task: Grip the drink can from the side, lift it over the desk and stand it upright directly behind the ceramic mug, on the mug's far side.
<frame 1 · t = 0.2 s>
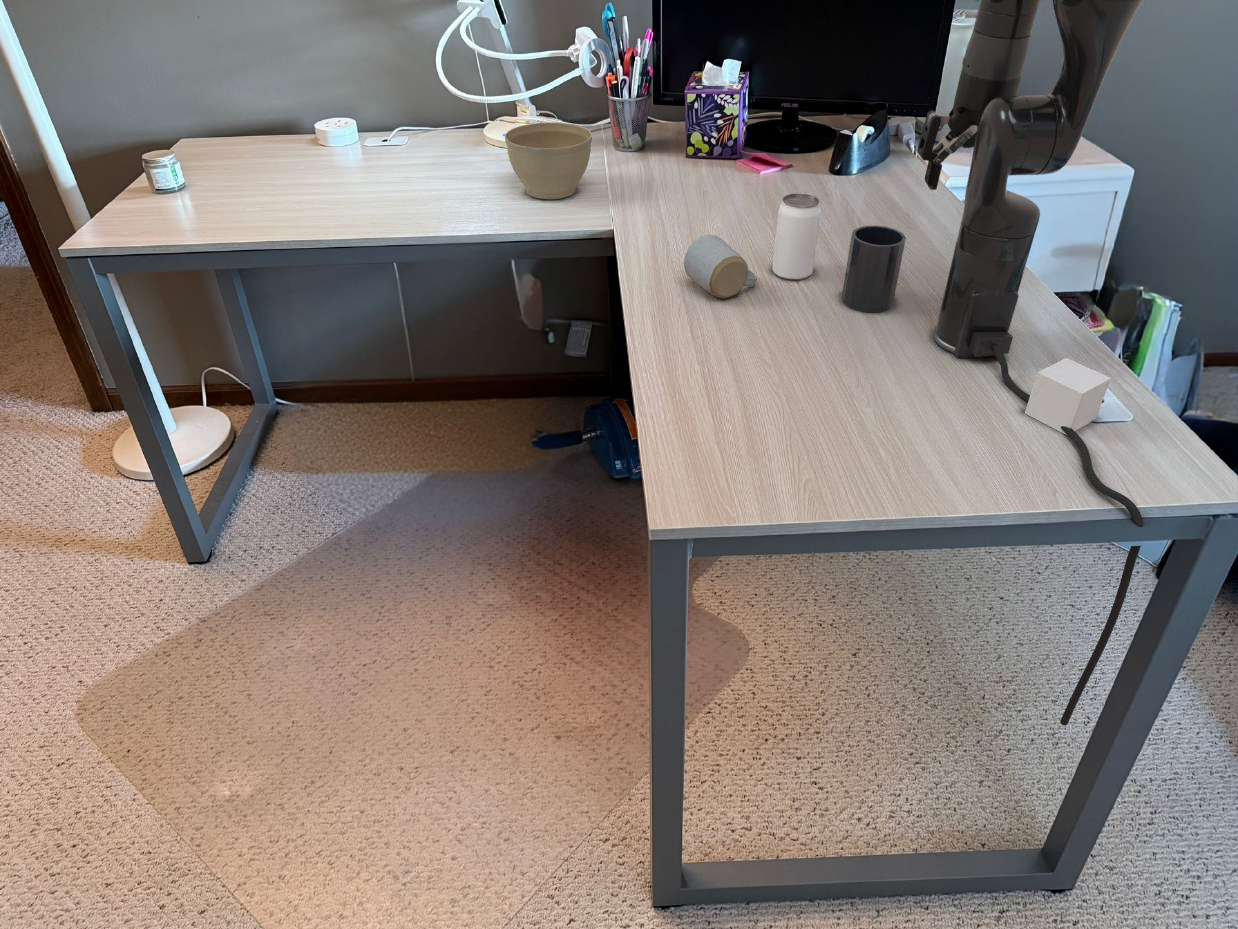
hand: (961, 187, 129), 17 cm above the table, tool pointing down, fingers open, 8 cm apart
ceramic mug: (721, 288, 142), on the table
can: (791, 273, 147), on the table
pen cup: (867, 301, 139), on the table
planter bowl: (551, 192, 175), on the table
white cube: (1059, 417, 114), on the table
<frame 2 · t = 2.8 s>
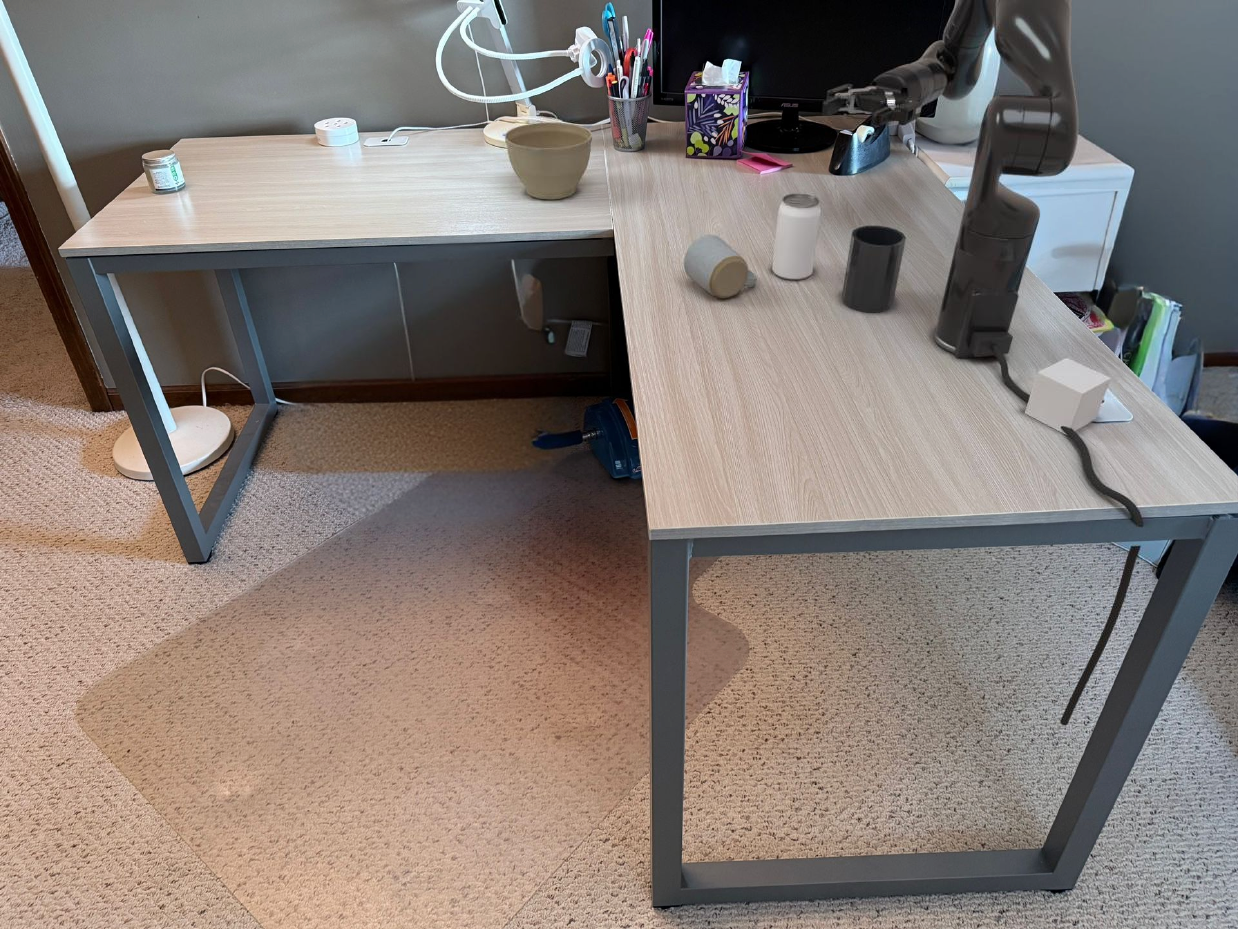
hand: (849, 114, 140), 22 cm above the table, tool horizontal, fingers open, 8 cm apart
nothing on the table moved.
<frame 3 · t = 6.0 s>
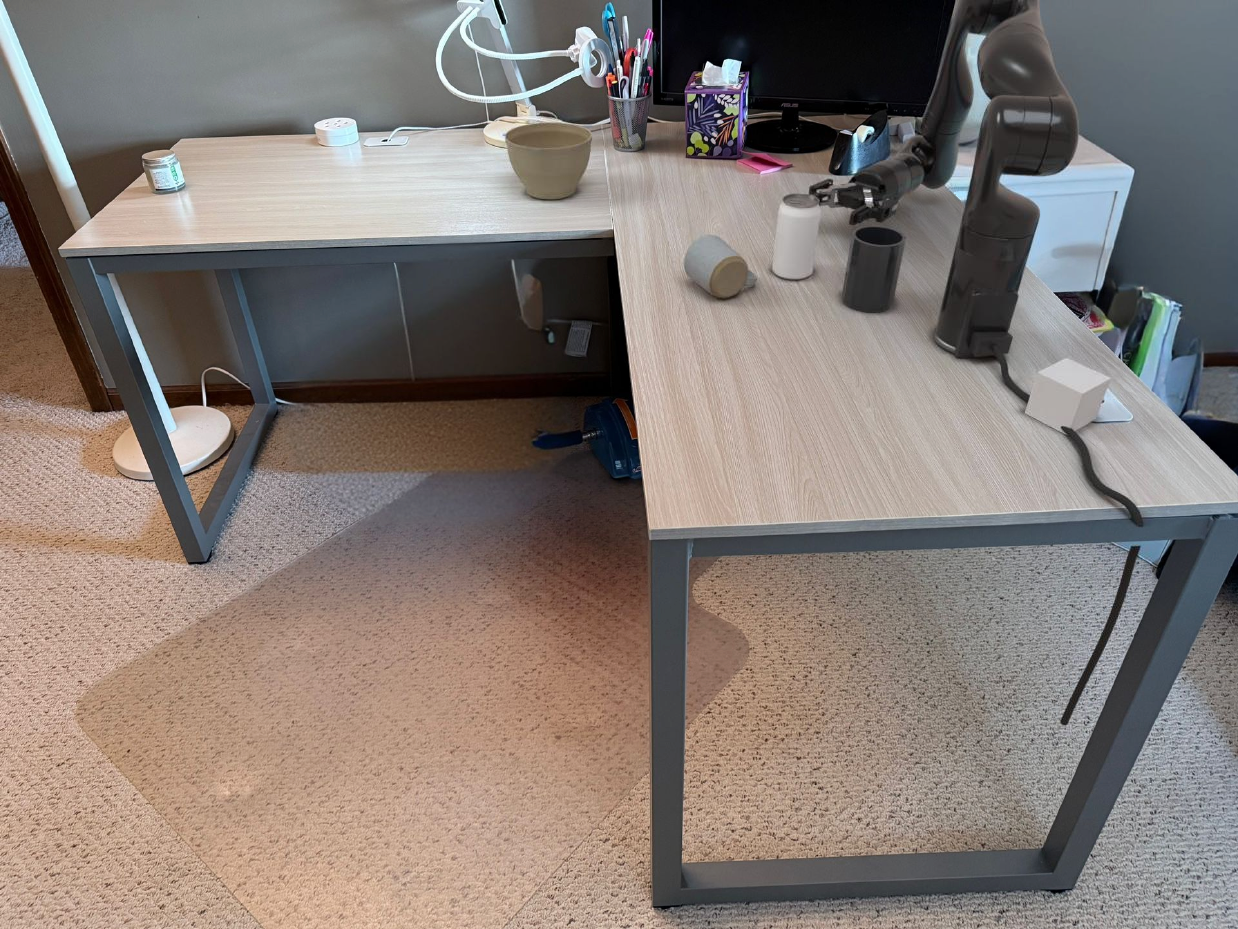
hand: (828, 212, 148), 7 cm above the table, tool horizontal, fingers open, 8 cm apart
nothing on the table moved.
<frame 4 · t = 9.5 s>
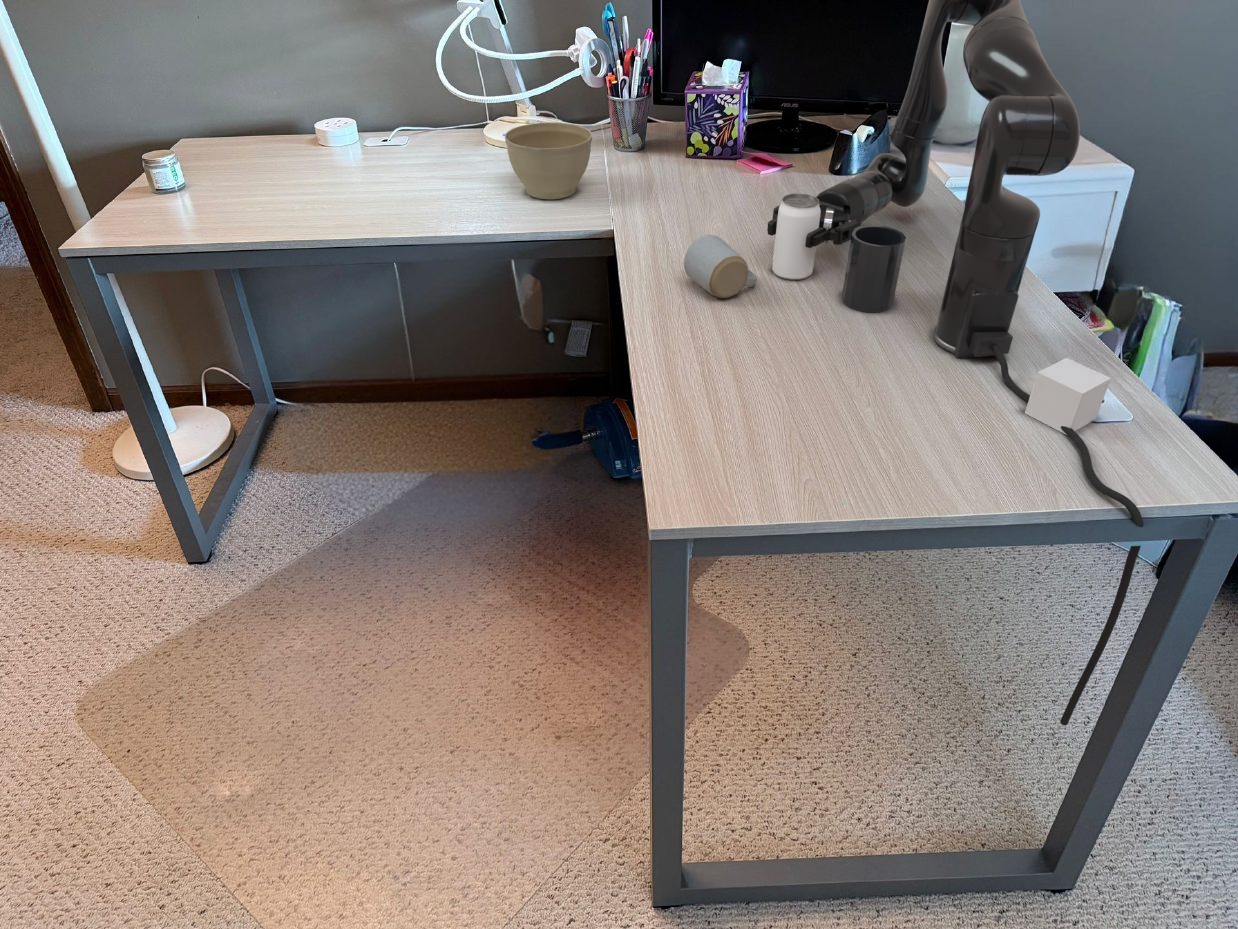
hand: (788, 235, 141), 7 cm above the table, tool horizontal, fingers closed on can, 6 cm apart
can: (791, 273, 147), on the table, touching gripper
everything else where it was.
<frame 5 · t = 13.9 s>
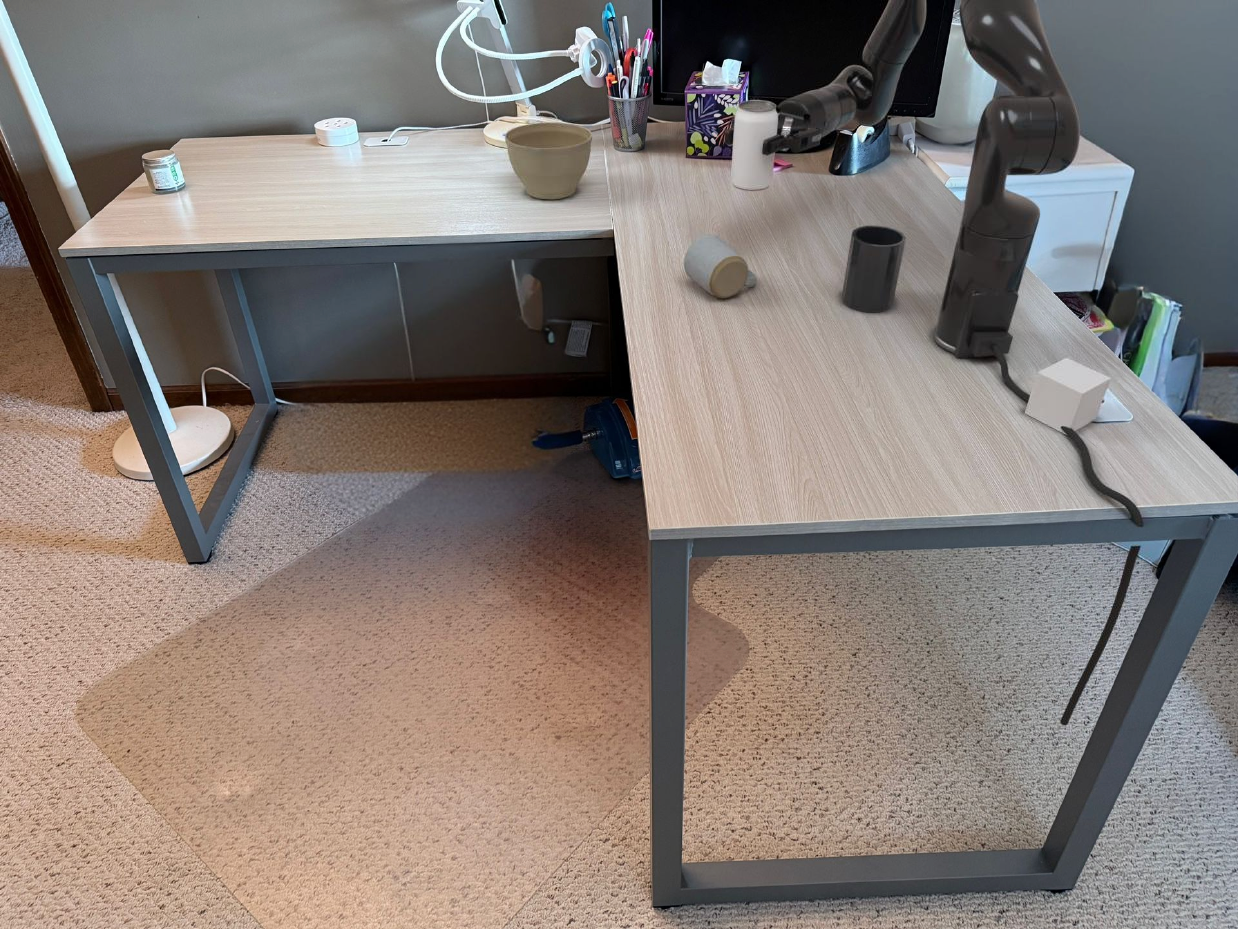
hand: (745, 143, 137), 20 cm above the table, tool horizontal, fingers closed on can, 6 cm apart
can: (751, 185, 143), point 13 cm above the table, touching gripper
everything else where it was.
when the fingers open (7 cm above the table, at t = 18.8 s): can stays where it is, on the table.
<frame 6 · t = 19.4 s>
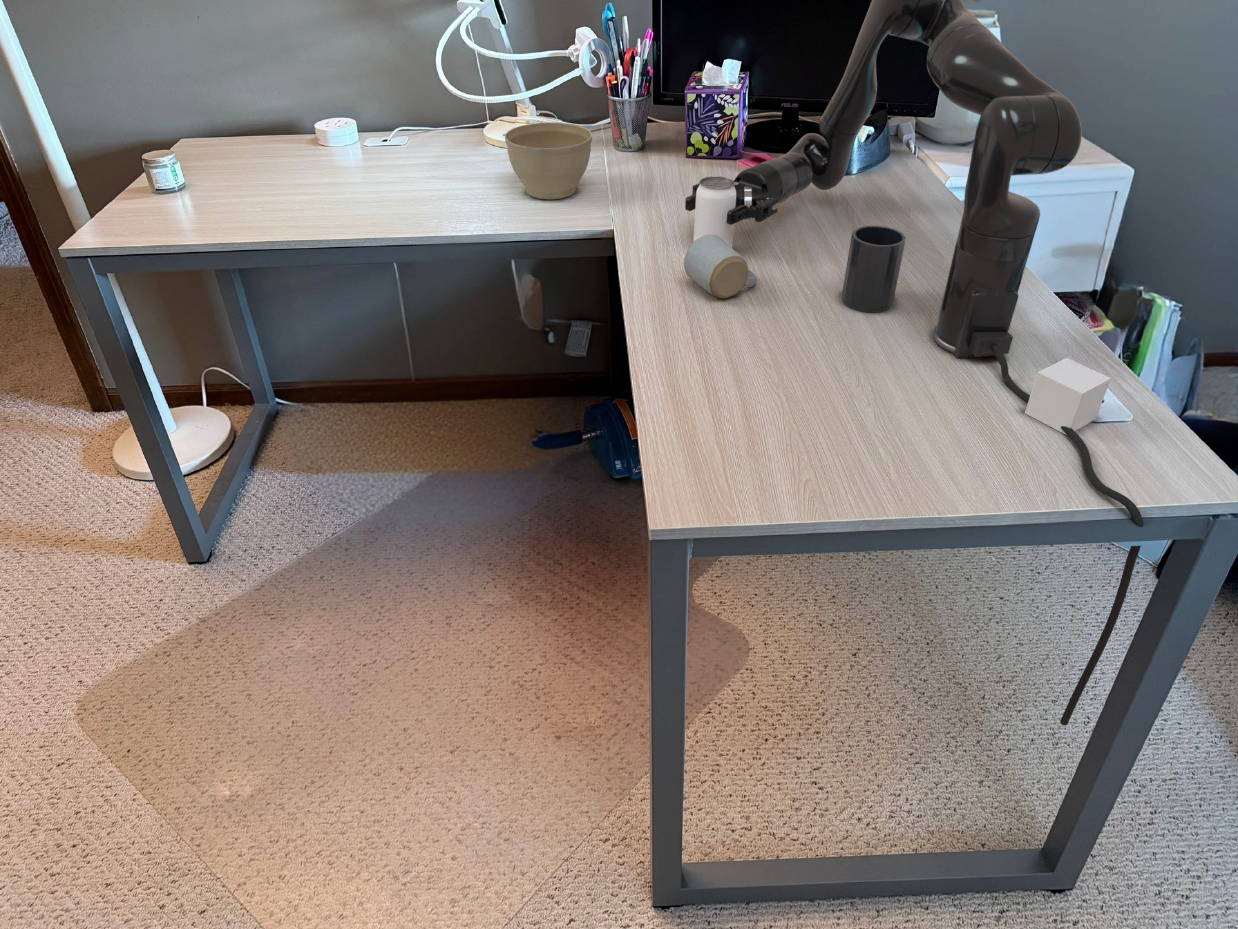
hand: (707, 211, 147), 8 cm above the table, tool horizontal, fingers open, 8 cm apart
can: (712, 253, 153), on the table
everything else where it was.
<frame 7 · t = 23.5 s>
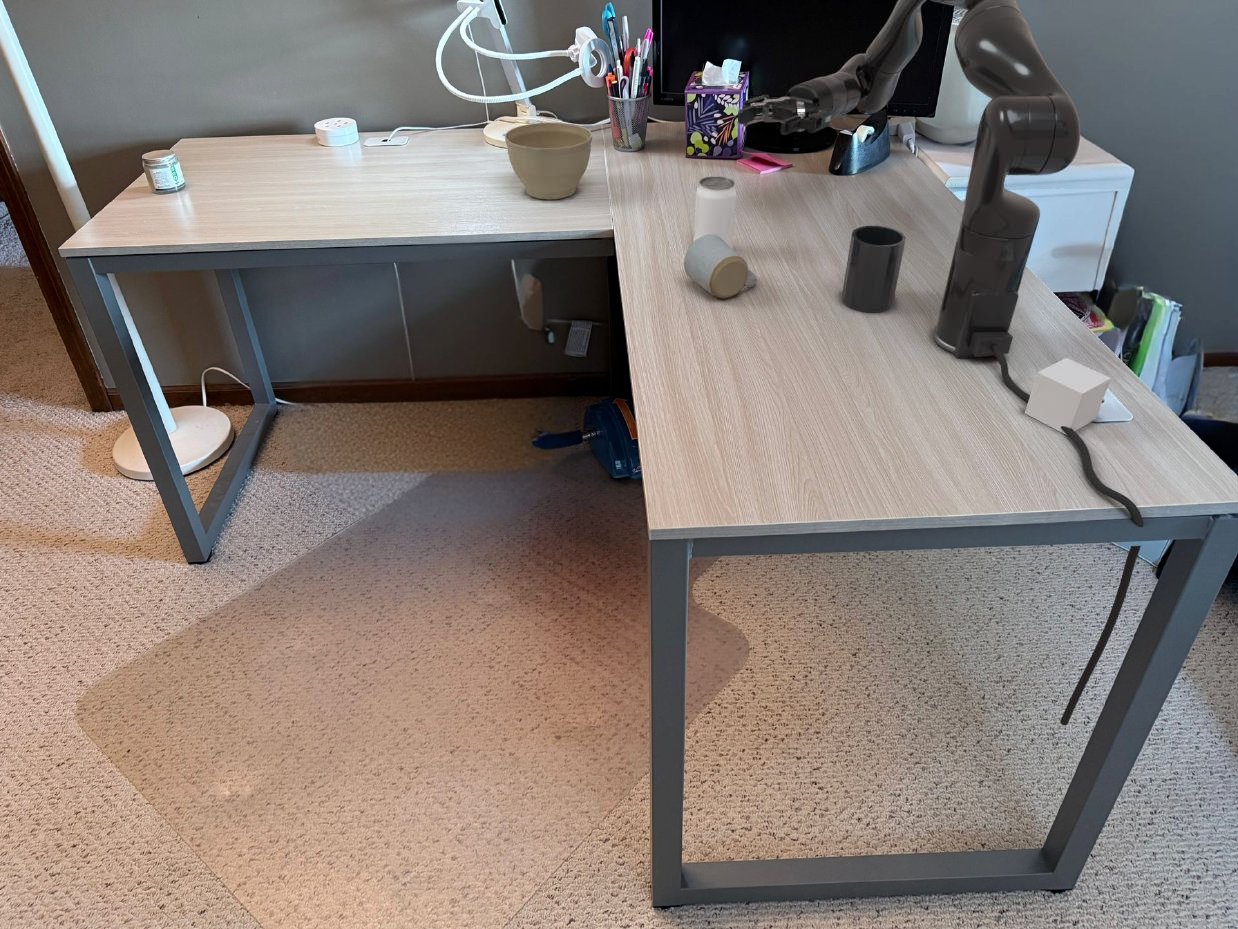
hand: (761, 122, 148), 19 cm above the table, tool horizontal, fingers open, 8 cm apart
nothing on the table moved.
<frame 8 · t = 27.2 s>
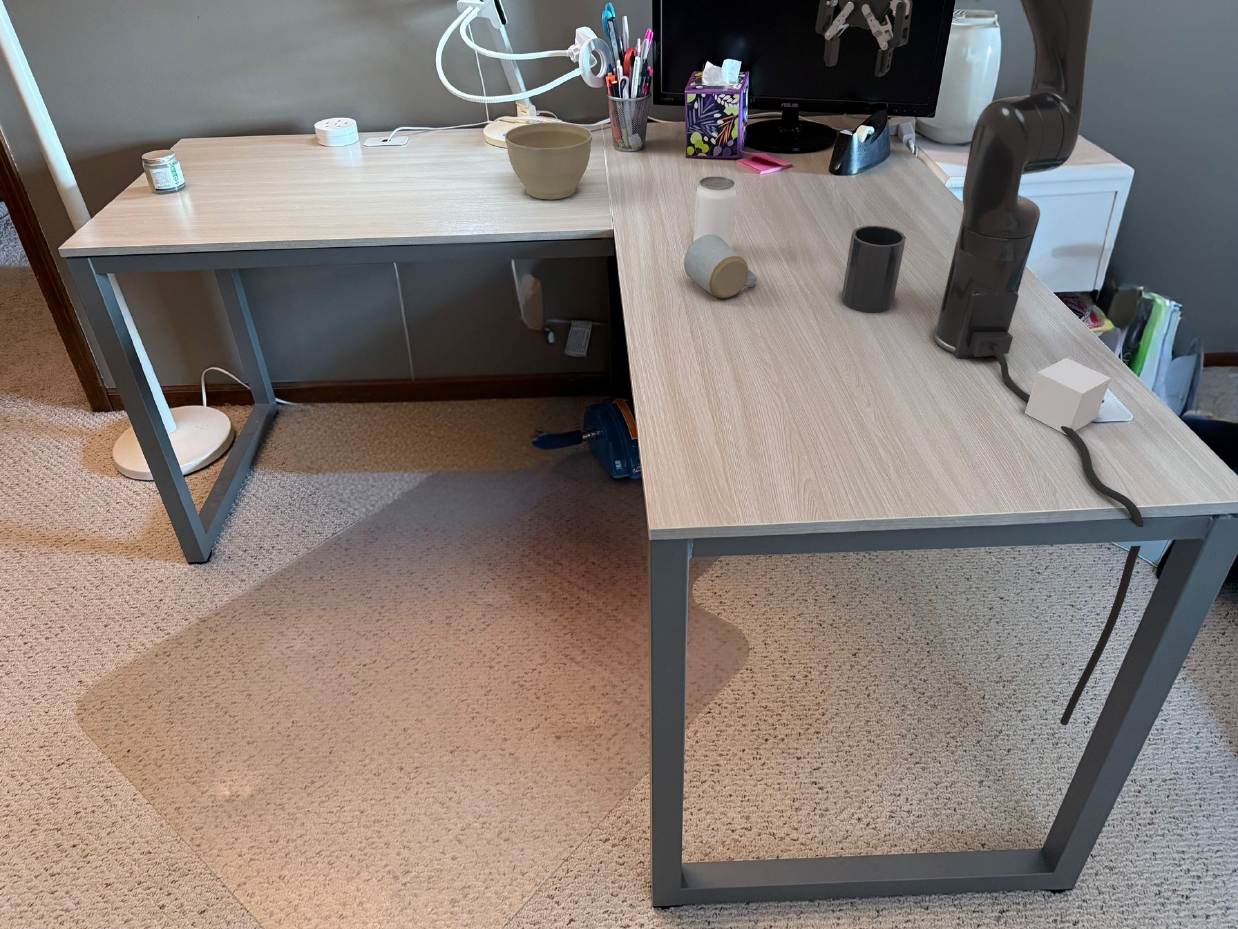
hand: (855, 70, 138), 28 cm above the table, tool pointing down, fingers open, 8 cm apart
nothing on the table moved.
at the end: can inside the target area on the table beside the ceramic mug (0.1 cm from its centre), on the table; can tilted 0°; ceramic mug moved 0.2 cm from its start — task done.
